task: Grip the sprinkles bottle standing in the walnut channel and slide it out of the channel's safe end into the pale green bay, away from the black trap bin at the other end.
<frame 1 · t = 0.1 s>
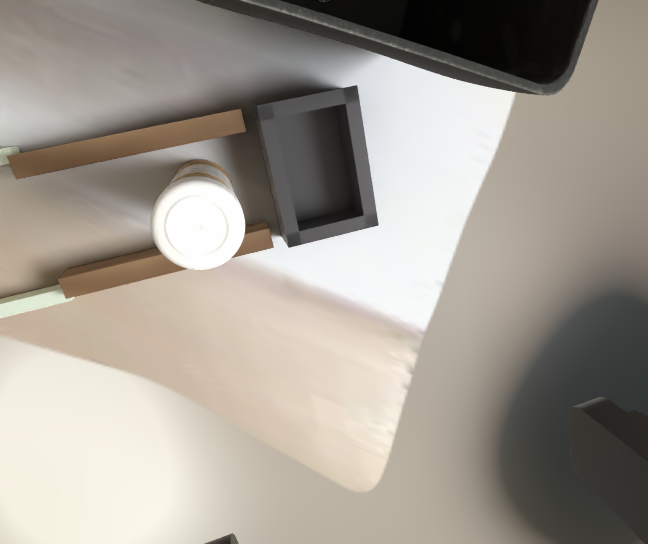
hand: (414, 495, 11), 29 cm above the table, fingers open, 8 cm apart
trap bin: (311, 164, 37), on the table
channel: (155, 199, 35), on the table
sprinkles bottle: (202, 188, 36), on the table
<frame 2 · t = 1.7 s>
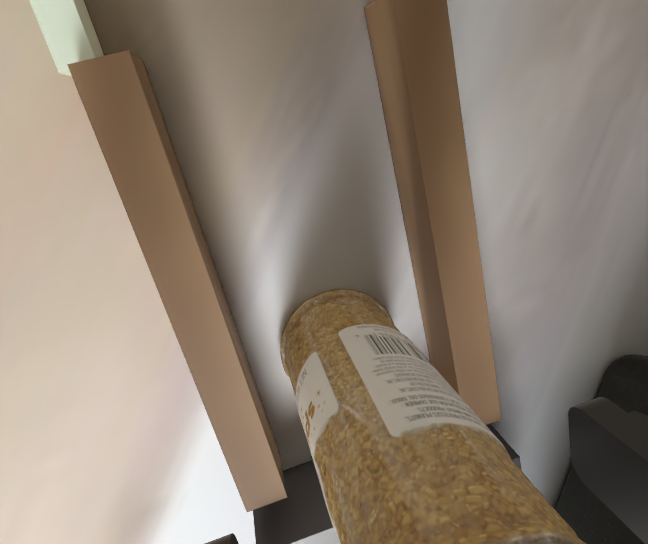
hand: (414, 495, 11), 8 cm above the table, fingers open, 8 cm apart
trap bin: (380, 502, 21), on the table
channel: (316, 258, 17), on the table
sprinkles bottle: (336, 338, 19), on the table
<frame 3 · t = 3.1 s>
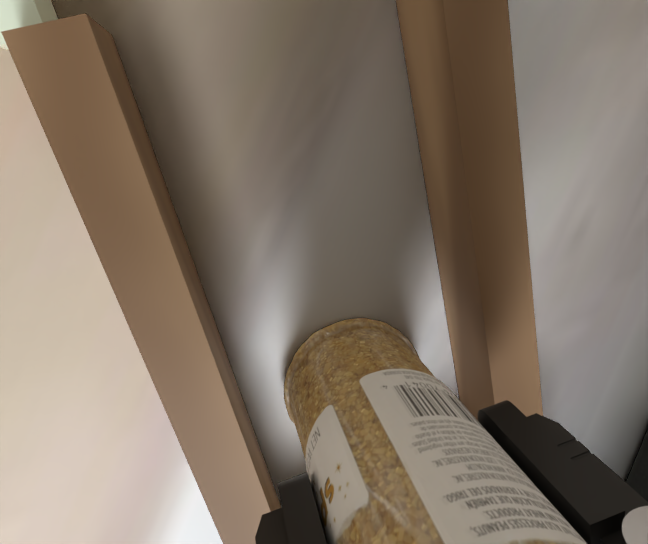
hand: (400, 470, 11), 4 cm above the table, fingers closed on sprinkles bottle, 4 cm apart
channel: (327, 280, 14), on the table
sprinkles bottle: (350, 374, 16), on the table, touching gripper
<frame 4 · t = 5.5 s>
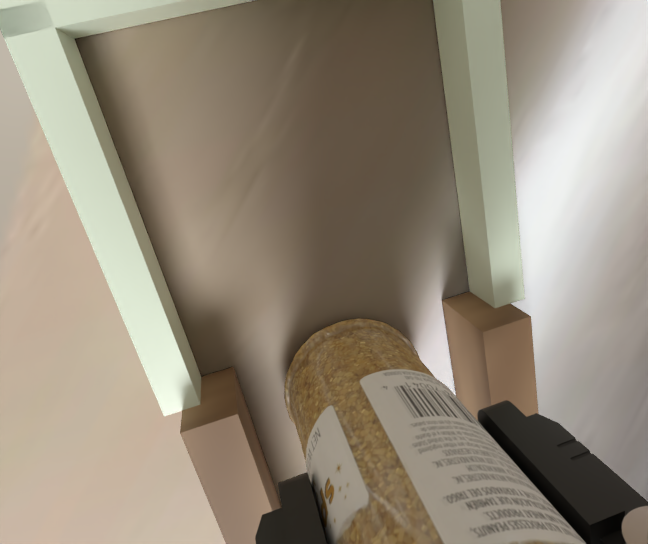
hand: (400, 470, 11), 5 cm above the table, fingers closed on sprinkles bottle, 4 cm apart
channel: (382, 506, 18), on the table
sprinkles bottle: (350, 375, 16), on the table, touching gripper
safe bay: (303, 177, 13), on the table
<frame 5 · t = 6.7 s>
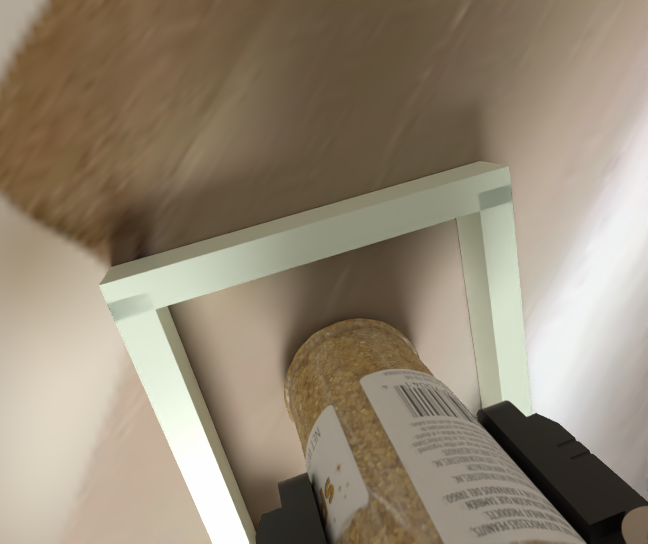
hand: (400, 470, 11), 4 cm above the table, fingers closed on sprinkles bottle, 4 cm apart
sprinkles bottle: (350, 374, 16), on the table, touching gripper
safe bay: (346, 371, 15), on the table
when the fingers open (4 cm above the table, at t = 7.8 s): sprinkles bottle stays where it is, on the table.
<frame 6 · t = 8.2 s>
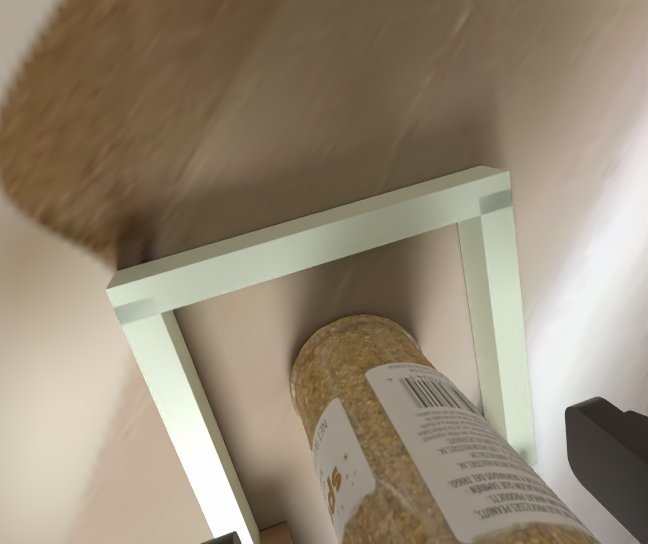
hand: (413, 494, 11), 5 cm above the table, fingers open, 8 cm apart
sprinkles bottle: (354, 370, 16), on the table
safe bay: (348, 373, 16), on the table
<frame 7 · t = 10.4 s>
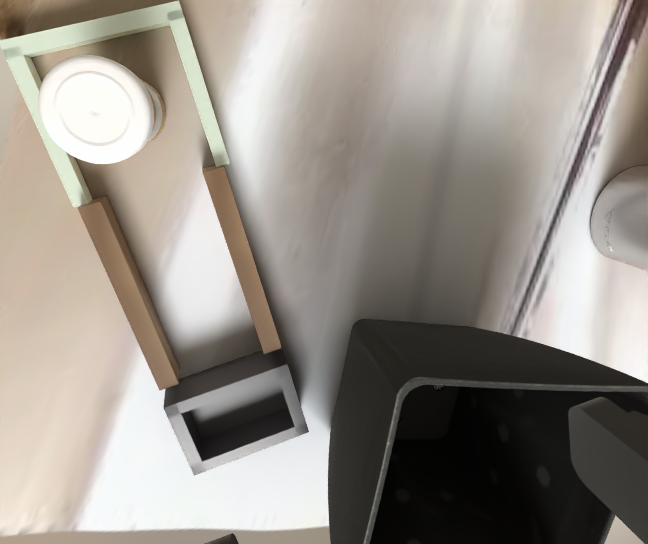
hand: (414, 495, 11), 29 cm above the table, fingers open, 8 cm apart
trap bin: (236, 396, 42), on the table
flower pot: (400, 378, 46), on the table
channel: (190, 274, 37), on the table
sprinkles bottle: (133, 111, 33), on the table
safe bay: (128, 111, 33), on the table
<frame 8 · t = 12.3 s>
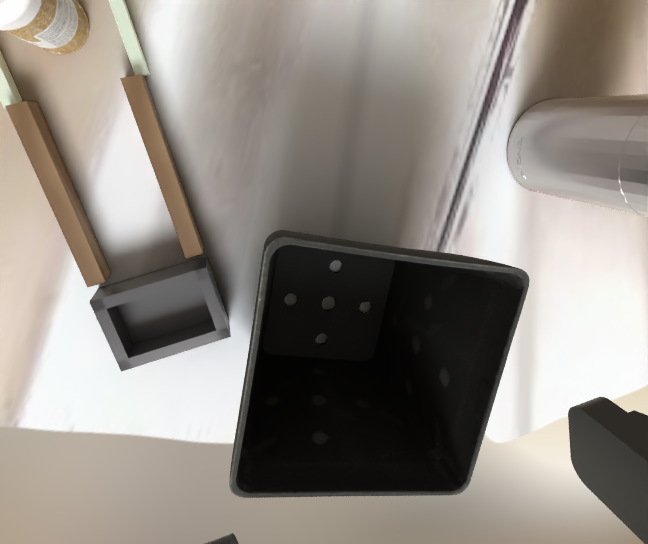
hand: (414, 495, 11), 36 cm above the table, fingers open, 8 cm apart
trap bin: (166, 305, 45), on the table
flower pot: (326, 299, 49), on the table
channel: (118, 182, 41), on the table
sprinkles bottle: (59, 24, 37), on the table
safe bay: (55, 23, 36), on the table
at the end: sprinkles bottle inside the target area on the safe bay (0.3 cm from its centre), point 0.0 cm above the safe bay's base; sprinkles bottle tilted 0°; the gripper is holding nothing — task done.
